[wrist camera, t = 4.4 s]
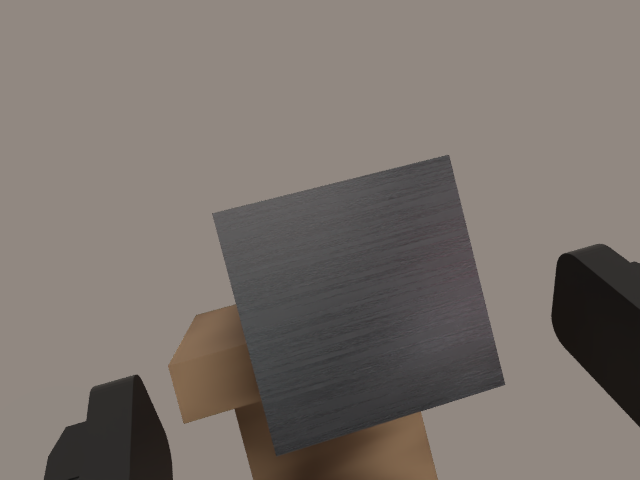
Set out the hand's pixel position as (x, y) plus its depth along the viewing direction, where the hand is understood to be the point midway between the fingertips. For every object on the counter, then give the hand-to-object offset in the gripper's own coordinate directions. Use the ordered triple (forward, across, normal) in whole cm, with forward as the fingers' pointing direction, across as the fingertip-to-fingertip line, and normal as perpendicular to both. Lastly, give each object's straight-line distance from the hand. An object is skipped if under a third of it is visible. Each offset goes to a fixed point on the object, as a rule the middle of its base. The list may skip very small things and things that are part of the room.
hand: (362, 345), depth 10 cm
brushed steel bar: (+9, 0, +6) cm, 11 cm away
